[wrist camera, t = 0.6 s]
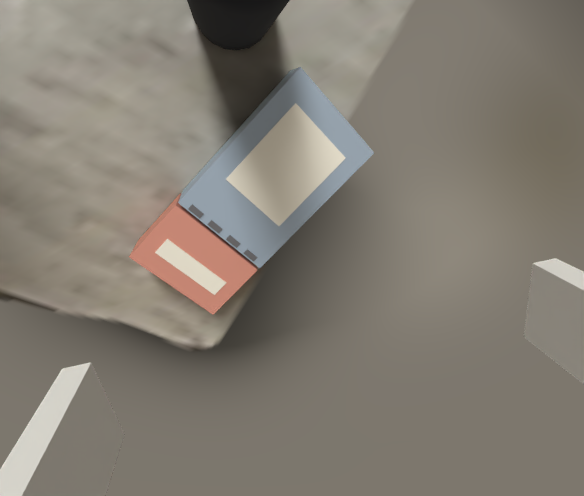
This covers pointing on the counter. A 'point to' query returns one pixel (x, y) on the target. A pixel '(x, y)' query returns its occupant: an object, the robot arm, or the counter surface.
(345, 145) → the blue labeled box
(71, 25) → the counter surface
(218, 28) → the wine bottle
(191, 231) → the red box
